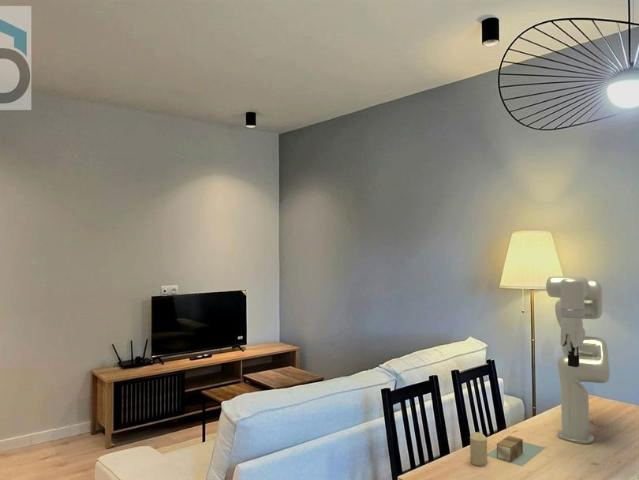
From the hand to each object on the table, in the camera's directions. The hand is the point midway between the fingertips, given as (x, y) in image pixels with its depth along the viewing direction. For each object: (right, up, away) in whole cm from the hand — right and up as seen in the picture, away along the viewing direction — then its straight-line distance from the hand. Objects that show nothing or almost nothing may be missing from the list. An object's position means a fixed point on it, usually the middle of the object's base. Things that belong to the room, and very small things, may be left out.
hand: (573, 366), depth 172 cm
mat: (-18, -32, +4) cm, 38 cm away
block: (-19, -29, +4) cm, 35 cm away
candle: (-34, -33, -3) cm, 47 cm away
